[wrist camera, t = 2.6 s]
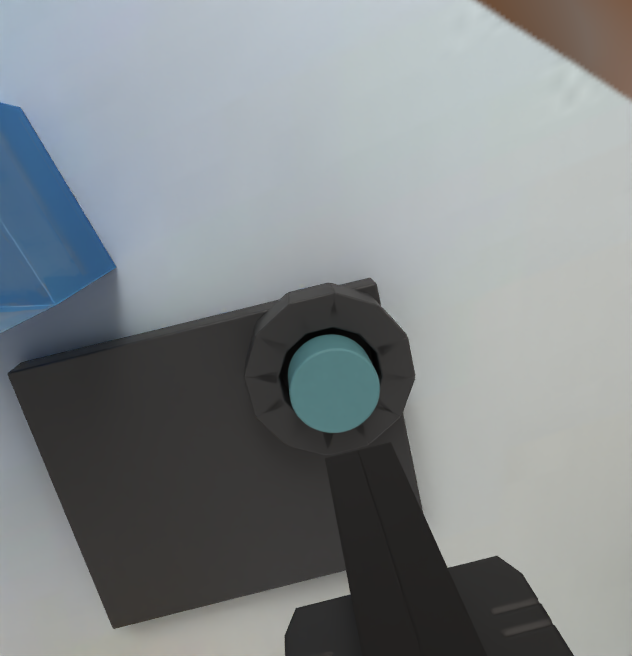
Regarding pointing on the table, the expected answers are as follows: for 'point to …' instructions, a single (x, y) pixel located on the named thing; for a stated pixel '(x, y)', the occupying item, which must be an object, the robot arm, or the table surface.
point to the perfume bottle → (39, 228)
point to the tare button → (332, 384)
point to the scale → (208, 449)
